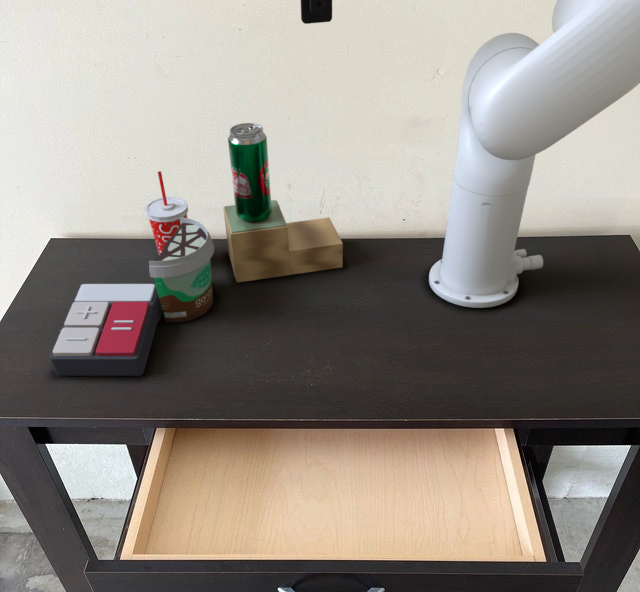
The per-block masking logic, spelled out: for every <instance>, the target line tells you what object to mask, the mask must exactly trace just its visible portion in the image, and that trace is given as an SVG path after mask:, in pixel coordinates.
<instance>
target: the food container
mask: <svg viewBox="0 0 640 592" xmlns="http://www.w3.org/2000/svg"><path fill="white" fill-rule="evenodd" d="M180 224H181V225H180V226H179V228H178V230H177V231H176V232H175V234H174V235H173V236H172V237H171V238H170V239H169V240H168V241H167V242H166V244H165V246H164V248H163V250H162V252H161V254H160V255H159V254H158V257H157V258H156V260H148V265H149V266H148V271H149V278H152V279H153V282H154V284H155V286H156V289H157V293H158V296H159V299H160V303H161V306H162V310H163V311H162V314H163V316H164V319H165V322H166V323H179V322H187V321H190V320H193V319H194V320H195V319H196V318H199V317H200V316H203V315H204V314H206V313H207V312H208V311H209V310H210V309H211V307H212V305H213V303H214V295H213V293H214V292H213V280H212V278H213V277H212V265H211V258H212V257H213V255H214V253H215V245H214V242H213V240H212V237H211V235H210V232H209V231H208V229H207V227H205V225H204V224H202V223H201V222H200V221H197V220H195V219H192V218H189V217H188V218H183V217H180Z"/></svg>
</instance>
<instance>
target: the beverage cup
mask: <svg viewBox="0 0 640 592" xmlns="http://www.w3.org/2000/svg"><path fill="white" fill-rule="evenodd" d="M157 175H158V176H157V177H158V181H159V187H160V191H161V197H157V198H155V199H152V200H150V201H148V202H147V203H146V204H145V206H144V212H145V215H146V218H147V219H148V220H149V224H150V227H151V231H152V234H153V238H154V242H155V245H156V249H157V252H158V256H159V255H160V254H161V252H162V250H163V248H164V246H165V244H166V242H167V241H168V240H169V239H170V238H171V237H172V236H173V235H174V234H175V232H176V231H177V230H178V228H179V226H180V225H181V224H180V217H183V218H189V217H188V212H189V204H188V202H187V201H186V200H185V199H184V198H182V197H178V196H167V194H166V190H165V189H166V188H165V185H164V180H163V175H162V171H159V170H158V171H157Z"/></svg>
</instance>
